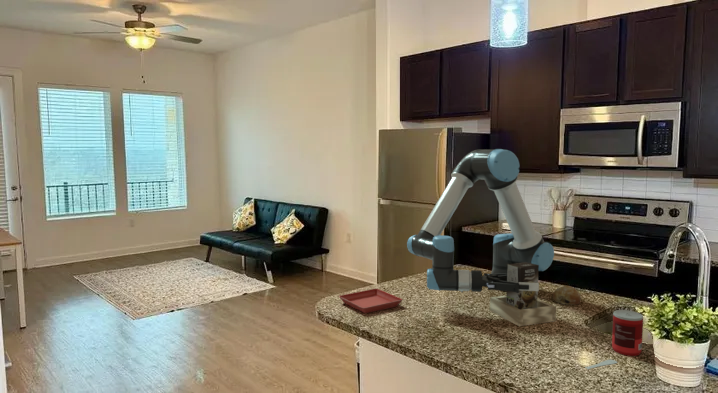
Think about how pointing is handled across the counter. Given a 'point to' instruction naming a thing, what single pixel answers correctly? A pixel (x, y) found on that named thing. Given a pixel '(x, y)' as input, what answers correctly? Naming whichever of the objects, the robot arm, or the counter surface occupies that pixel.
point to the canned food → (627, 332)
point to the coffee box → (522, 274)
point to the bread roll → (567, 295)
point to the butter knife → (602, 364)
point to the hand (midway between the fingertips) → (535, 282)
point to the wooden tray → (523, 312)
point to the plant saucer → (370, 300)
